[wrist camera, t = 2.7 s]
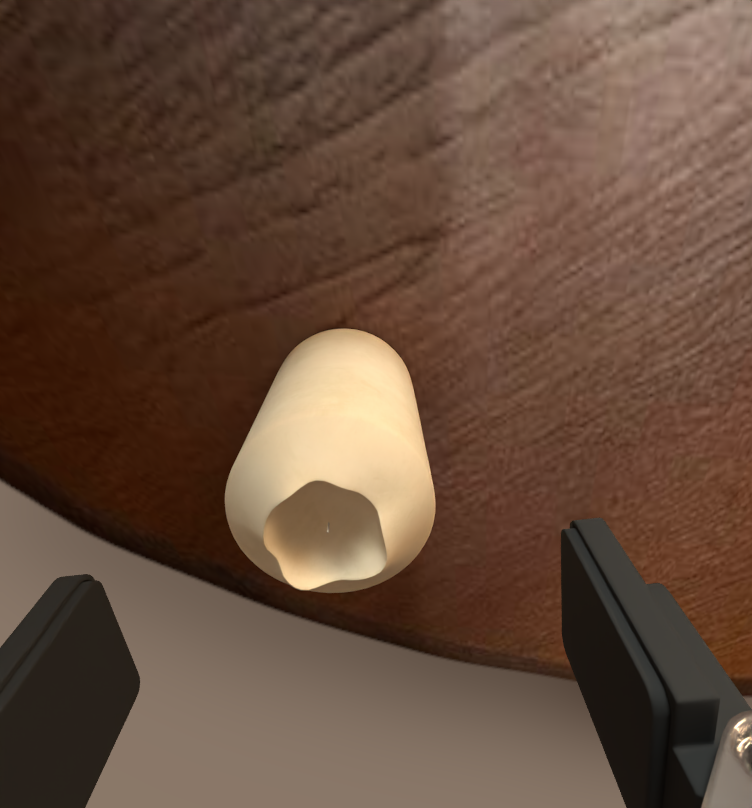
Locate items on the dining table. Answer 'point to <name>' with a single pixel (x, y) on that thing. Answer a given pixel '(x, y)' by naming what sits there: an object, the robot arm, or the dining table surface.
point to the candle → (334, 468)
